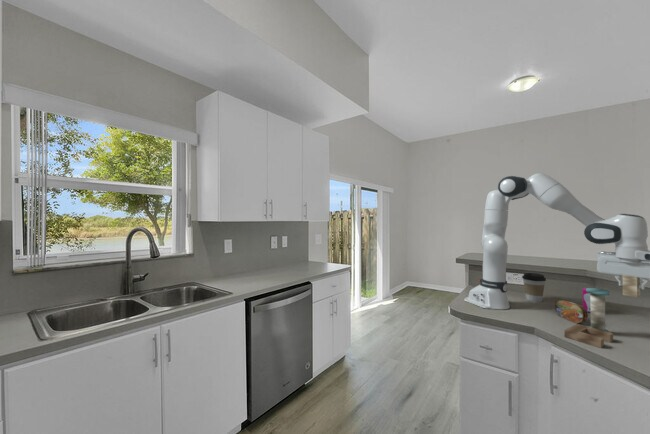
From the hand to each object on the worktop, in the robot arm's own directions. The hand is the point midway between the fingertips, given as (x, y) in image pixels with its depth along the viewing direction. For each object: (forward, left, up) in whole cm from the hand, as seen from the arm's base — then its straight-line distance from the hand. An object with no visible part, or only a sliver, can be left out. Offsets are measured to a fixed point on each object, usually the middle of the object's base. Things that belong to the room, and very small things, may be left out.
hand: (631, 287), depth 112 cm
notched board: (-7, -17, -20) cm, 27 cm away
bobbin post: (-8, -6, -20) cm, 23 cm away
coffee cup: (-44, +21, -20) cm, 53 cm away
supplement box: (-20, +24, -20) cm, 37 cm away
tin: (-20, +2, -20) cm, 29 cm away
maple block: (0, 0, -3) cm, 3 cm away
